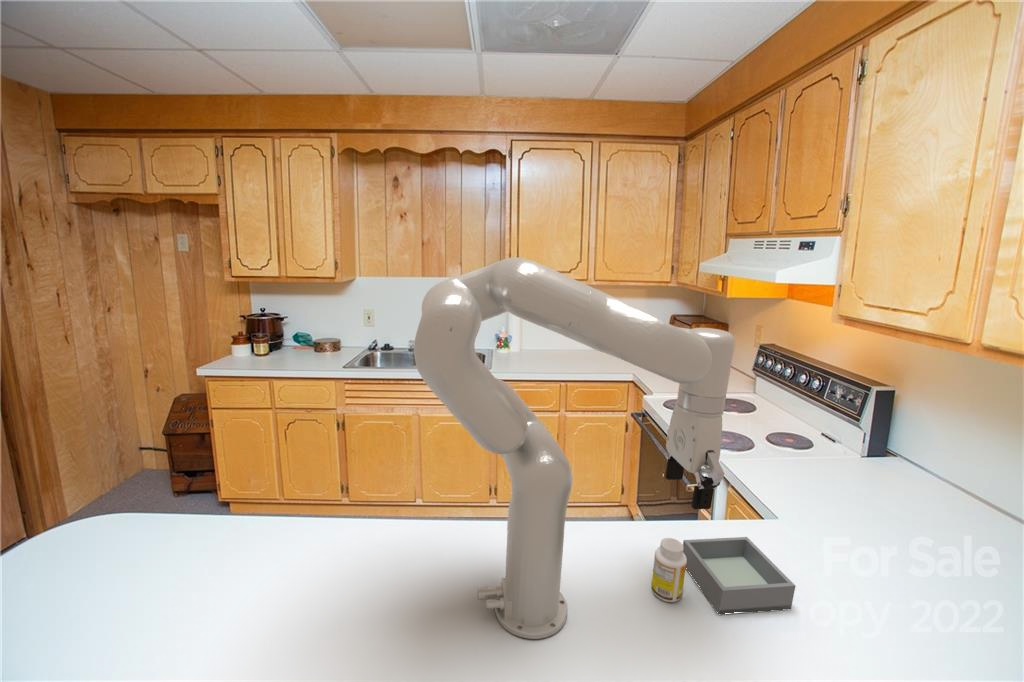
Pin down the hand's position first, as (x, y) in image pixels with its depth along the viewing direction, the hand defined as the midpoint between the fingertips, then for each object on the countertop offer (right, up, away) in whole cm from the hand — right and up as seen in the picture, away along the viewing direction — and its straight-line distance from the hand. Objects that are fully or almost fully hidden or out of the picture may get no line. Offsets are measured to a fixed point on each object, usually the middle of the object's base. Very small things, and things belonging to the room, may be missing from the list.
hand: (686, 492), depth 83 cm
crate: (+12, -20, +7) cm, 24 cm away
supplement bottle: (-2, -20, +4) cm, 21 cm away
